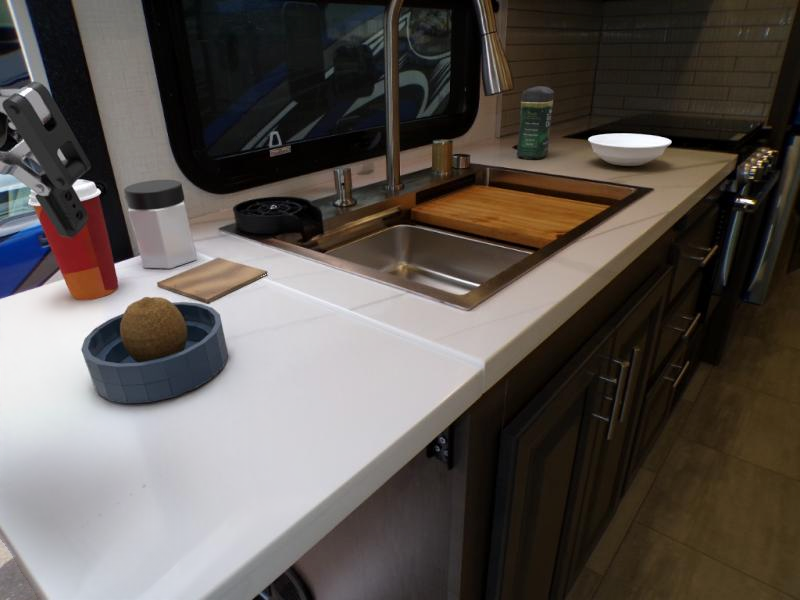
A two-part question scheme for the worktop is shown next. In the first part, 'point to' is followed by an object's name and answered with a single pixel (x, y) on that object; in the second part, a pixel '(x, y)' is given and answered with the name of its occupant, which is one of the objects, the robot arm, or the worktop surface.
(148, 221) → the jar
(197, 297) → the board
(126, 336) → the fruit
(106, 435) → the worktop surface
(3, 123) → the robot arm
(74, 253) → the coffee cup
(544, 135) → the green canister
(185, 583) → the worktop surface
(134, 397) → the glazed bowl
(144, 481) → the worktop surface
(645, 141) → the bowl
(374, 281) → the worktop surface
